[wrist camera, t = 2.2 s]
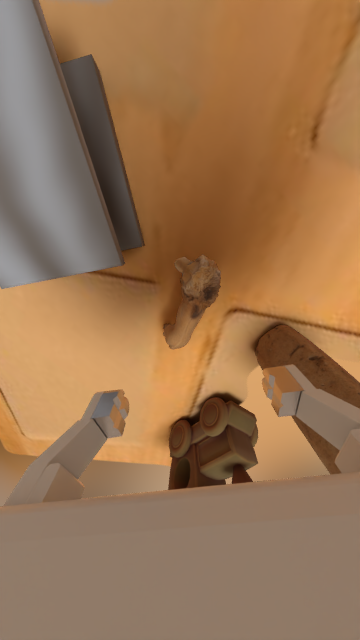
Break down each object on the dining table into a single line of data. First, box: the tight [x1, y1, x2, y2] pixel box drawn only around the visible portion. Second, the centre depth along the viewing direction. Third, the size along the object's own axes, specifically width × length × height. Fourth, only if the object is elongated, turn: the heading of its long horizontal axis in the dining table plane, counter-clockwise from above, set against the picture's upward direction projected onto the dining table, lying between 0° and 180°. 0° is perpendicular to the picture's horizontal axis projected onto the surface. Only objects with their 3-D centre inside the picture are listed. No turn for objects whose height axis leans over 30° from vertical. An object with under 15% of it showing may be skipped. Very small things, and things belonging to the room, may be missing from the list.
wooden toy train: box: [168, 397, 258, 490], centre depth 31 cm, size 20×11×17 cm, turn 141°
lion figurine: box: [163, 254, 221, 349], centre depth 20 cm, size 15×5×9 cm, turn 168°
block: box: [255, 325, 360, 474], centre depth 20 cm, size 11×8×20 cm
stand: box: [0, 0, 145, 289], centre depth 15 cm, size 14×16×8 cm
